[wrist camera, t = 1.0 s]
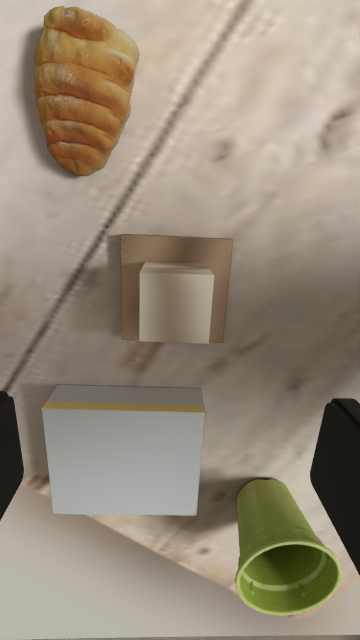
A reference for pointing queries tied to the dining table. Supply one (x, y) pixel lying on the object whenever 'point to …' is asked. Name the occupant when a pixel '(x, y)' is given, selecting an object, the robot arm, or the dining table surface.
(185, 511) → the dock
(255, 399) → the dining table surface
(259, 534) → the plant pot
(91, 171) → the pastry
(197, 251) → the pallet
